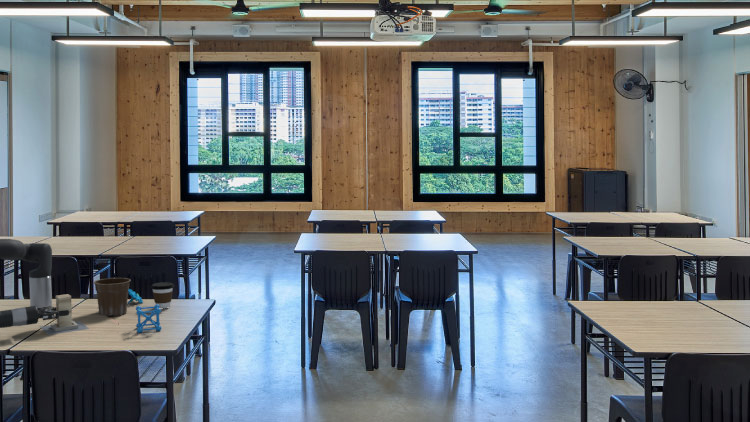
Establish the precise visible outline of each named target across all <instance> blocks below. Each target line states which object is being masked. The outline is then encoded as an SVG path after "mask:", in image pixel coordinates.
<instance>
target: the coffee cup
mask: <svg viewBox="0 0 750 422" xmlns="http://www.w3.org/2000/svg"><path fill="white" fill-rule="evenodd" d="M150 288H151V290H152V296H153V300H154V303H155V304H154V306H155V305H157V304H158V305H159V306H160V308H167V307H169V308H170V307H171V303H172V297H173V288H175V284H174V283H172V282H169V281H167V282H166V281H165V282H164V281H163V282H162V281H161V282H155V283H153V284H152V285H151V287H150Z"/></svg>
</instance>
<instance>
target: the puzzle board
mask: <svg viewBox="0 0 750 422" xmlns="http://www.w3.org/2000/svg"><path fill="white" fill-rule="evenodd" d="M40 329H42V331H43V332H44V333H46V335H48V336H52V335H59V334H65V333H70V332H77V331H85V330H89V329H90V328H89V327H88V326H87V325H85V324H84V323H83V322H82V321H80V320H78V321H77V320H75V321H74V320H72V325H70V326H64V327H57V322H54V323H50V325H42V326H40Z"/></svg>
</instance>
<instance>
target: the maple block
mask: <svg viewBox="0 0 750 422" xmlns="http://www.w3.org/2000/svg"><path fill="white" fill-rule="evenodd" d="M55 307H56V311H63V310H69V315H67V316H59V318H58V319H56V323H57V327H64V326H70V325H72V321H73V312H72V311H73V310H72V309H73V307H72V295H70V294H60V295H55Z"/></svg>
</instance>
